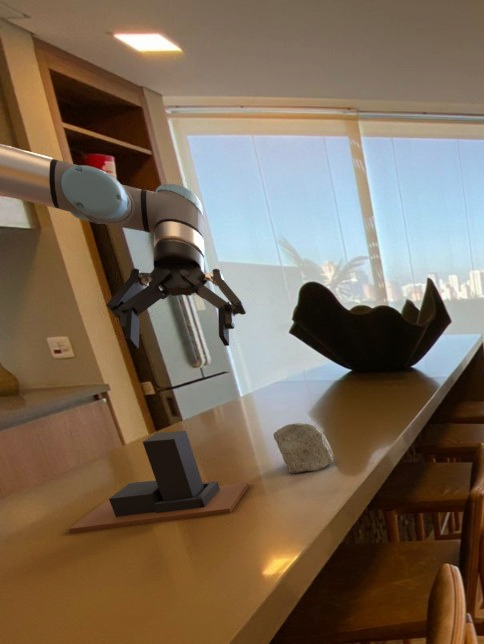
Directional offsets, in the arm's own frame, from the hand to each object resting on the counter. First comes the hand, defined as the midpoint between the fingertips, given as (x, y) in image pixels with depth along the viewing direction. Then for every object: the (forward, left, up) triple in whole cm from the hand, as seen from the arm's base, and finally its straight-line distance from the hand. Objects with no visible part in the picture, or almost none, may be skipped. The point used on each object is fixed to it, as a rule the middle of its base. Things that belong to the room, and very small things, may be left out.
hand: (179, 342), depth 101 cm
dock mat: (+7, -18, -25) cm, 31 cm away
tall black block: (+9, -17, -24) cm, 30 cm away
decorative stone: (+15, +6, -25) cm, 30 cm away
